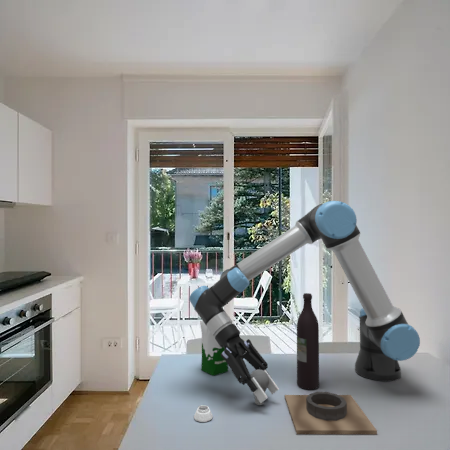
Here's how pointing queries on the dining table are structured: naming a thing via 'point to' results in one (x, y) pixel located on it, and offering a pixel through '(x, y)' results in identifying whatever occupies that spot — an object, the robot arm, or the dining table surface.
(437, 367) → the dining table surface
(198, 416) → the lidless jar
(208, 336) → the milk carton
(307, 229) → the robot arm
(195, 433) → the dining table surface
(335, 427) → the lamp holder
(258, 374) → the light bulb
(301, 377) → the wine bottle
